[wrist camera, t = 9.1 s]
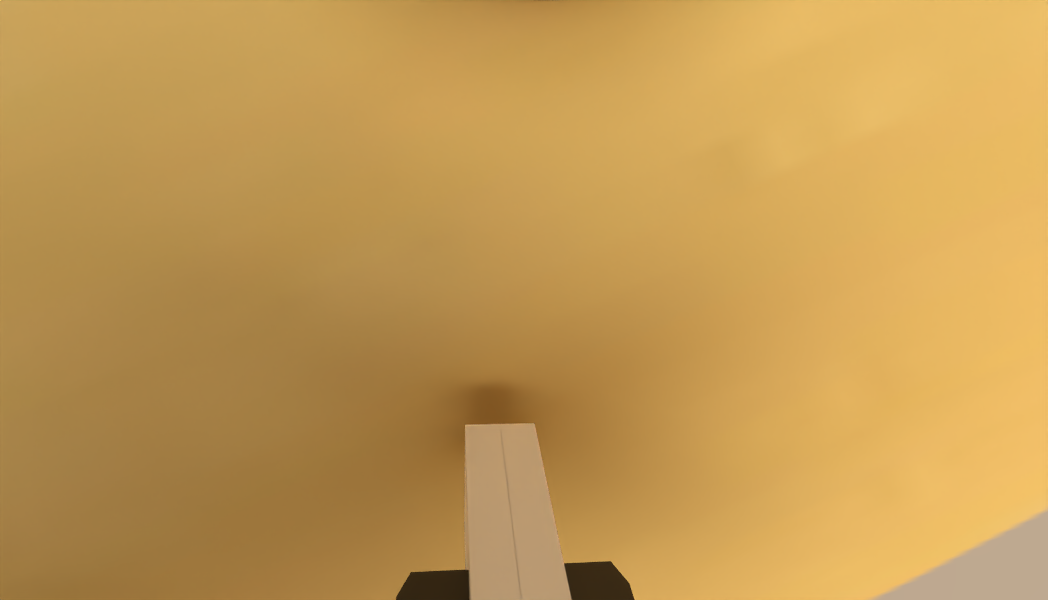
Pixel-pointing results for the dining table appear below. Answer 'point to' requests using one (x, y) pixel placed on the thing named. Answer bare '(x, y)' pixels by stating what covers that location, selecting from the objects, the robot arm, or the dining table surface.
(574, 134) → the dining table surface
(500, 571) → the robot arm
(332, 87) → the dining table surface
